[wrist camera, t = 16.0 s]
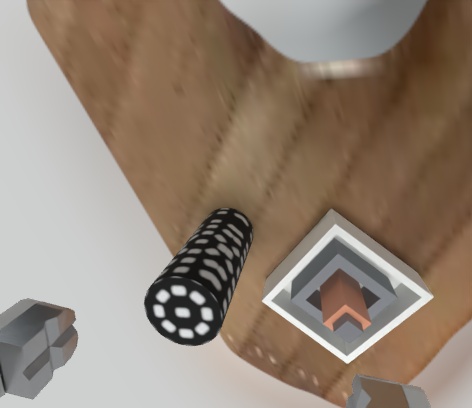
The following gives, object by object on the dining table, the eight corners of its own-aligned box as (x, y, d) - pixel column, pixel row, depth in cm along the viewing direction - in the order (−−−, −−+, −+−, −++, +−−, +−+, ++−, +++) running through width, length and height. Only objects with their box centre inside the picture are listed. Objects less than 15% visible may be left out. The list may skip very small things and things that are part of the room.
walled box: (331, 208, 44) (335, 223, 38) (417, 272, 44) (433, 297, 39) (266, 278, 50) (261, 301, 45) (342, 334, 50) (347, 363, 45)
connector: (336, 262, 46) (347, 312, 35) (357, 278, 46) (374, 332, 35) (319, 279, 47) (323, 332, 36) (339, 294, 47) (350, 351, 36)
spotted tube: (251, 207, 47) (217, 277, 28) (255, 255, 49) (226, 349, 31) (200, 208, 48) (137, 275, 30) (206, 254, 51) (152, 342, 32)
